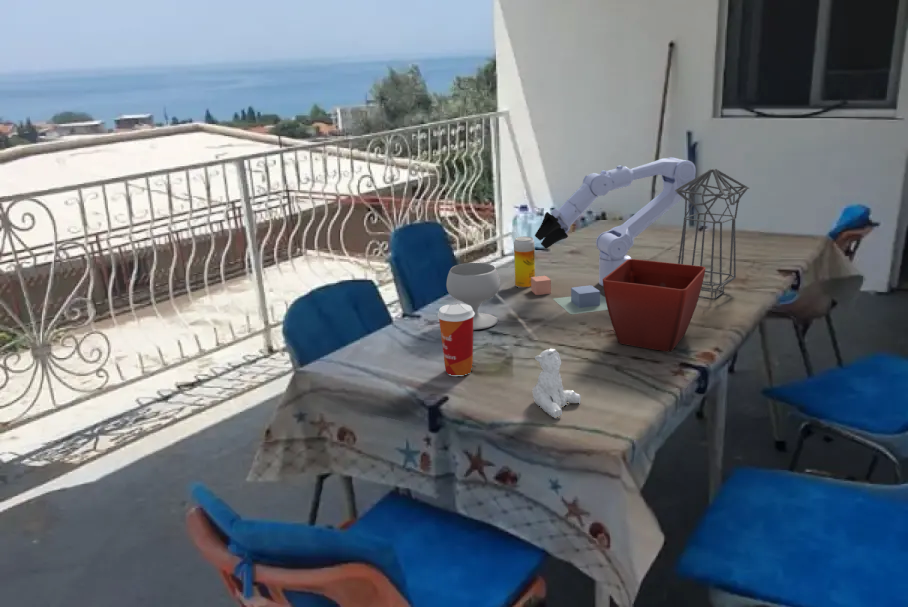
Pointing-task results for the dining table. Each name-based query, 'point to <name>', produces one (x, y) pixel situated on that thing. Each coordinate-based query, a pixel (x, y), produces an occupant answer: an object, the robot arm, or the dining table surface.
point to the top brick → (540, 285)
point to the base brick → (585, 296)
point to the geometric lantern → (696, 181)
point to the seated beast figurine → (552, 385)
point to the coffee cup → (457, 337)
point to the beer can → (524, 261)
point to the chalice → (474, 289)
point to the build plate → (573, 309)
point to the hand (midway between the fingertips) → (540, 242)
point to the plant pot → (652, 302)
